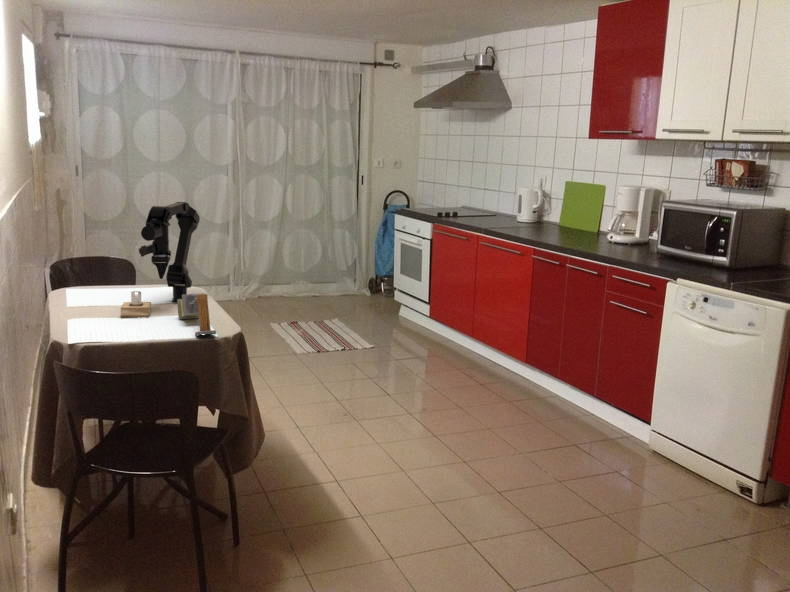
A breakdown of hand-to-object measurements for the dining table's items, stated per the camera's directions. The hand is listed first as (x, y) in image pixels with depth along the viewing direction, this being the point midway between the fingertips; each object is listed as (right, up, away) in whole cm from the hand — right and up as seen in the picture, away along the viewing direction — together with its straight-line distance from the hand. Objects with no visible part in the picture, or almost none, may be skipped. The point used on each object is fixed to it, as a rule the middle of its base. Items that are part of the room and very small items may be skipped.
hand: (162, 276), depth 279 cm
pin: (-7, -14, -10) cm, 18 cm away
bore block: (-7, -15, -10) cm, 19 cm away
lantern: (+21, -20, -25) cm, 38 cm away
